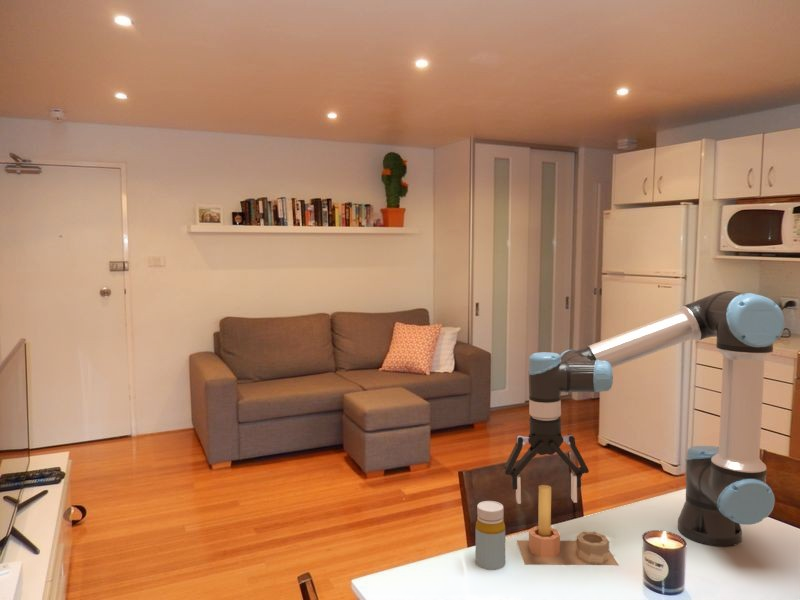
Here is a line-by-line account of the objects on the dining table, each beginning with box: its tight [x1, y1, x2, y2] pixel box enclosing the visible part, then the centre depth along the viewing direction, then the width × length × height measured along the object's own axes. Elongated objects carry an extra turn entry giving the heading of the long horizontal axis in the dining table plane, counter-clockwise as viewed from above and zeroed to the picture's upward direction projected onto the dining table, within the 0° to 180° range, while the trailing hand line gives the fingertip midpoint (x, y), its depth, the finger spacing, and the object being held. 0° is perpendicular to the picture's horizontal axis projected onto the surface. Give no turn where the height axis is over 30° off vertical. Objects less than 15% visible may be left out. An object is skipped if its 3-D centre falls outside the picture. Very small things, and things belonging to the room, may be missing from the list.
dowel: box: [537, 484, 552, 537], centre depth 148 cm, size 3×3×16 cm
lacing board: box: [516, 539, 619, 566], centre depth 148 cm, size 22×12×1 cm, turn 88°
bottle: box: [474, 500, 506, 571], centre depth 143 cm, size 7×7×15 cm
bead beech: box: [575, 531, 610, 564], centre depth 145 cm, size 7×7×4 cm
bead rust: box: [528, 525, 561, 557], centre depth 149 cm, size 7×7×4 cm
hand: (546, 501), depth 148 cm, fingers open, 13 cm apart
